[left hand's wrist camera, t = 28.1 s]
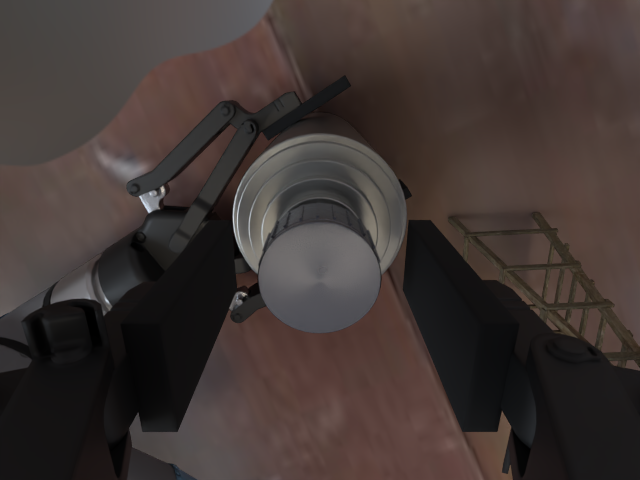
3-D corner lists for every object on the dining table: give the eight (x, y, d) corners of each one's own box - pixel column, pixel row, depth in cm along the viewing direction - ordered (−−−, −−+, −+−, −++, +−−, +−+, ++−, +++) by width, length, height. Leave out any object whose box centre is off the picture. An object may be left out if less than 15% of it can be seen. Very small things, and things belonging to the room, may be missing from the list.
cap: (260, 202, 14) (249, 221, 12) (375, 199, 14) (385, 217, 12) (269, 303, 15) (260, 336, 13) (373, 301, 15) (381, 333, 13)
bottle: (347, 97, 33) (400, 109, 11) (375, 184, 35) (463, 330, 14) (261, 132, 34) (156, 203, 12) (294, 214, 36) (258, 392, 15)
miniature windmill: (448, 211, 36) (902, 634, 8) (541, 206, 36) (1339, 621, 8) (442, 299, 39) (752, 820, 11) (528, 295, 39) (1060, 814, 11)
